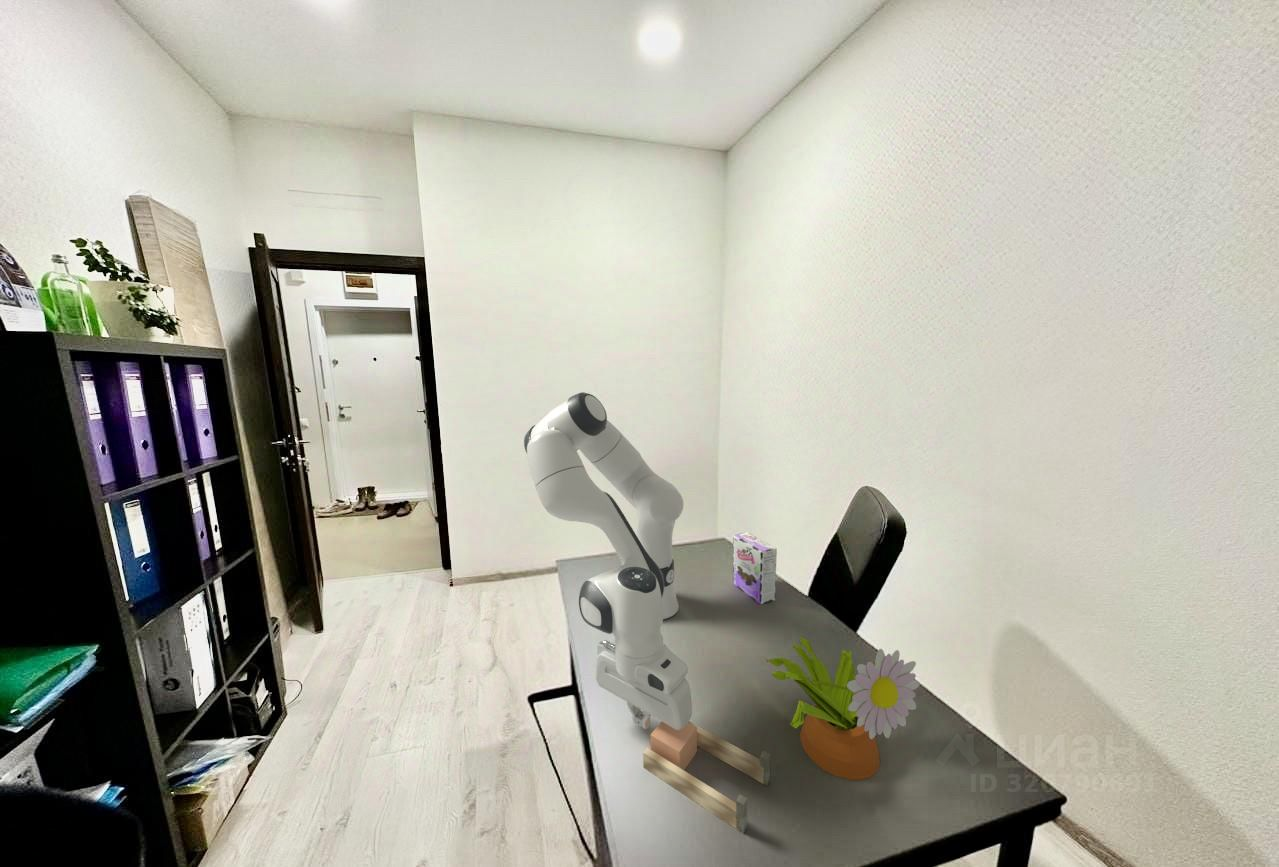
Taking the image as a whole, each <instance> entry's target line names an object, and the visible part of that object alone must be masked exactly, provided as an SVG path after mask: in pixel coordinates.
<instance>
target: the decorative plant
mask: <svg viewBox="0 0 1279 867" xmlns="http://www.w3.org/2000/svg"><path fill="white" fill-rule="evenodd" d="M798 638H799V642H800V645H802V646H803V647H804V648H805V650H806V651H807V652H808V653H807V652H806V651H805V650H804V648H802V646H800V645H798V644H794V643H793V644H792V643H791V644H790V645H791V646H792V647H793V649H794V651H795V652H796V653H797V654H798V655H799V657H800V658H801V659H802V661H803V662H804V664H805V666H806V669H807V671H808V673H809V675H810V678H811V679H810V678H809V677H808V675H807V674H806V673H805V672H804V671H803V670H802V669H801V667H800V666H799V664H797V663H796V662H793V661H791V660H789V659H787V658H785V657H775V658H771V659H767V658H765V661H766V662H769V663H770V664H772V665H773V666H775V667H777V668H778V667H780V666H781V665H783V666H784V667H785V668H786V669H787V670H788V671H786V672H784V671H782V670H774V671H772V674H771V676H772V677H773V678H774V679H776V680H779V681H780V680H781V681H786V680H788V679H792V680H794V682H796V683H797V684H798V685H799V686H800V687H801V688H802V689H803V691H804V692H805V693H806V694H807V696H808V697H809V699H810V700H812V702H813V703H814V704H815V705H812V704H810V703H807V702H805V701H802V700H800V699H799V700H798V702H797V703H798V704H797V707H796V711H795V712H794V714H793V716H792V717H793V718H792V719H791V722H790V723H789V726H792V727H793V728H794V729H797V728H799V727H800V726H801V730H800V735H799V738H800V742H801V743H800V744H801V746H802V747H803V750H804V752H805V753H806V754H807V756H808V757H809V758H810V759H811V761H812V762H813V763H814V764H816V765H817V767H819V768H820V769H822V770H824V771H825V772H827V773H829V774H831V775H833V776H835V777H837V778H841V779H844V780H845V779H846V780H850V781H856V780H857V781H861V780H865V779H868V778H870V777H872V776H873V775H875V773H877V771H878V770H879V767H880V762H881V761H880V759H881V758H880V753H879V749H878V748H879V747H878V743H877V742H878V741H877V739H876V735H877V734H878V735H880V736H881V735H882V734H883V735H884V737H885V738H886V739H889V738H890V737H891V733H892V728H893V729H894V730H897V729H898V725H899V726H900V727H901V726H902V727H906V725H907V718H906V717H908V716H909V715H910V712H909V710H910V711H911V710H912V711H914V710H916V709H917V704H916V702H915V701H914V698H915V697H916V693H915V692H914V690H916V689H918V688H919V687H920V685H921V684H920V682H919V681H918V680H916V679H915V678H916V677H917V675H916V673H913V670H914V669H915V667H916V665H917V662H916V661H913V660H912V661H911V660H910V661H909V662H906V663H905V660H904V659H900V655H901V654H900V651H899V649H897V650H895V651H894V652H893V653H892V654H891V653H888V654H886V655H885V651H884V650H883V648H879V649H878V650H877V653H876V654H875V655H876V656H875V661H872V662H871V661H868V662H867V663H866V664H863V663H859V664H857V667H856V671H857V672H858V673H857V674H856V671H855V667H854V663H853V662H854V661H853V658H852V652H851V650H844V649H841V651H840V652H841V655H840V656H841V657H840V660H839V663H838V667H837V671H836V674H835V679H834V682H833V681H832V678H831V677H830V675H829V672H828V670H827V667H826V665H825V664H824V663H823V662H821V660H819V658H818V657H817V656H816V654H815V653H814V650H813V647H812V646H811V643H810V640H808V639H806V638H803V637H798ZM808 654H809V655H810V656H811V657H810V656H809V655H808ZM804 714H806V716H805V718H804Z"/></svg>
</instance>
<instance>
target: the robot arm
mask: <svg viewBox="0 0 1279 867" xmlns="http://www.w3.org/2000/svg"><path fill="white" fill-rule="evenodd" d="M523 438H524V439H523V445H524V449H525V452H526V455H527V460H528V465H529V466H528V467H529V471H530V474H531V478H532V481H533V485H534V487H535V490H536V492H537V495H538V497H539V499H540V502H541V505H542V506H543V508H544V509H545V510H546V512H547V513H549V514H550V515H552V516H554V517H555V518H557V519H559V520H563V521H568V522H577V523H586V524H588V525H589V524H590V525H592V526H596V528H597V527H598V528H599V529H600V530H602V532H603V533H604V534H605V535H606V537H607V539H608V540H609V542H610V544H611V545H612V547H613V549H614V551H615V553H616V554H617V557H618V558H619V560H620V561H621V565H619V566H617V567H615V568H612V569H610V570H608V571H607V570H606V571H604V572H602V573H600V574H597V575H595V576H593V577H590V578H588V579H587V580H585V581H584V582H582V585H581V587H580V590H579V594H578V595H579V596H578V608H579V611H580V612H579V613H580V615H581V618H582V620H583V621H584V622H585V623H586V624H587V625H589V626H591V627H592V628H595V629H597V631H601V632H602V633H606V634H608V635H611V634H613V636H614V638H615V639H614V640H615V641H614V643H612V642H610V641H609V640H606V639H603V640H602V641H599V642H598V644H597V657H596V658H597V659H596V664H595V681H596V683H597V685H598V686H599V687H601V688H602V689H603V690H606V691H608V692H609V693H611V694H613V695H614V696H616V697H617V698H619V699H622V700H623V701H625V702H626V705H627V708H628V709H629V712H630V713H631V715H632V723H634V724H636V725H638V726H639V727H640V728H642V729H645V730H647V729H648V727H649V726H650V725H651V717H653V718H655V719H657V720H658V721H660V722H661V721H662V722H664V723H665V724H667V725H669V726H671V727H672V728H674V729H676V730H681V729H682V728H683V727H685V725H686V724H687V723H688V722H689V721H690V720H691V719H692V714H693V703H692V701H693V700H692V693H691V691H692V690H691V686H690V683H689V682H688V679H686V677H687V675H688V673H689V667H688V664H687V663H686V662H685V661H683V660H682V659H681V658H680V657H679V656H678V655H676V654H675V653H674V652H673V651H672V650H671V649H670V648H669V647H668V646H667V645H666V644H665V643H664V638H663V634H662V626H663V624H664V623H663V622H664V620H666V619H668V618H671V617H672V616H674V615H675V614H677V612H678V611H679V609H680V605H679V602H678V598H677V594H676V589H675V581H674V580H675V560H674V558H673V535H674V534H673V533H674V528H675V525H676V520H678V519H679V517H681V514H682V512H683V509H684V498H683V497H682V495H681V493H680V491H679V490H678V489H677V487H675V486H674V485H673V484H672V483H670V482H669V481H667V480H666V479H663V478H662V477H661V476H659V475H658V474H656V472H654V470H652V468H650V466H649V465H648V464H647V462H646V461H645V460H644V458H643V457H642V455H641V453H640V452H639V451H638V450H637V448H635V447H634V446H633V444H632V443H631V442H630V441H629V440H628V439H627V437H626V436H624V434H623V433H621V431H620V430H619V429H618V428H617V427H616V425H614V424H612V422H610V421H609V420H608V416H607V411H606V409H605V407H604V405H603V403H602V402H601V401H600V400H599V399H598V398H597V397H596V396H595V395H593V394H590V393H589V392H588V393H587V392H585V391H584V392H579V393H576V394H573V395H571V396H570V397H569V398H568V399H567V400H565V401H564V402H562V403H560V404H558V405H557V406H555V407H554V408H553V409H551V410H550V411H549V412H548V413H547V414H546V415H545V416H544V417H542V419H540V420H539V421H538V422H537V423H536V424H534V425H533V426H531V427H530V428H529V430H528V431H527V432H526V434H525V435H524V437H523ZM579 450H580V452H581V453H582V454H583V456H584V457H585V458H586V459H587V460H588V462H590V463H591V464H592V465H593V467H594V468H596V469H597V470H598V472H599V473H601V475H603V477H605V479H606V480H608V481H609V483H610V484H612V486H613V487H614V488H615V489H616V490H617V491H618V492H619V493H620V494H621V495H622V496H623V498H624V499H626V501H627V502H628V503H629V504H630V505H631V506H632V507H634V508H635V509H636V511H637V514H638V516H637V518H638V519H637V523H636V529H635V531H634V530H633V527H632V525H630V523H629V521H628V520H627V518H626V516H625V515H624V513H623V510H621V507H620V506H619V505H618V503H617V502H616V501H615V499H614V498H613V497H612V496H611V494H609V493H608V492H606V491H603V490H602V489H601V488H600V487H599V486H597V485H596V483H595V482H594V481H593V480H592V478H591V477H590V475H589V474H588V472H587V469H586V468H585V466H584V463H583V461H582V458H581V457H580V455H579V453H578V451H579Z"/></svg>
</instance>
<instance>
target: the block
mask: <svg viewBox="0 0 1279 867" xmlns="http://www.w3.org/2000/svg"><path fill="white" fill-rule="evenodd" d="M649 736H650V737H649V738H650V739H649V740H650V750H652V751H653V752H655V753H657V754H658V755H660V756H661V757H663V758H665V759H666V760H668V761H669V762H671V763H673V764H674V765H676V766H677V767H679V768H681V769H682V770H684V771H685V770H686V769H687V767H688V766H689V764H690V763H691V761H692V760H693V758H694V757H695V755H696V754H697V752H698V746H697V728H696V727H695V726H693V725H691V724H689V723H687V724H686V725H685V727H683V728H682V729H681V730H676V729H674V728H672V727H671V726H669V725H667V724H665V723H664V722H662V721H660V723H659V724H658V725H657V726H656V728H655V729H654V730H653V731H652V732H651V734H650V735H649Z"/></svg>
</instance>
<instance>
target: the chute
mask: <svg viewBox="0 0 1279 867" xmlns="http://www.w3.org/2000/svg"><path fill="white" fill-rule="evenodd" d="M688 723H689V724H691V725H693V726H695V727H696V728H697V748H699V749H701V750H703V751H705V752H706V753H708V754H710V755H712V756H713V757H716V758H717V759H719V760H721V761H722V762H724V763H726V764H728V765H730V766H731V767H733V768H735V769H736V770H738V771H740V772H741V773H743V774H746V775H747V776H749V777H750V778H753V779H754V780H756V781H757V782H759V783H761V784H762V785H763V786H768V784H769V782H770V780H771V778H770V776H771V773H770V771H771V754H770V753H769V752H766V751H765V750H762V751H761V754H760V756H759V758H758V757H756V756H754V755H752V754H750V753H749V752H746V751H745V750H743V749H742V748H740V747H738V746H735V745H734V744H731V743H730V742H728V741H726V740H725V739H722V738H721V737H720V736H718V735H715V734H713V733H712V732H710V731H708V730H706V729H704V728H703V727H701V726H698V725H696V723H694V722H692V721H690V720H689V722H688ZM642 757H643V760H642V762H643V764H642V765H643V769H645V770H647V771H648V772H649V773H651V774H653V775H654V776H655V777H657V778H659V779H660V780H661V781H663V782H664V783H666V784H667V785H669V786H671V787H672V788H673V789H675V790H677V791H678V792H680V793H681V794H683V795H685V797H687V798H689V799H690V800H692V801H693V802H695V803H696V804H698V805H700V806H701V807H703V808H704V809H705V810H707V811H709V812H710V813H712V814H713V815H714V816H716V817H717V818H719V819H720V820H722V821H724V822H725V823H727V825H728V824H729V825H730V826H732V827H733V828H734V829H736V830H737V831H739V832H740V833H742V834H745V832H746V830H747V826H748V798H747V797H745V796H744V795H742V794H740V793H739V794H738V797H737V798H736V800H735V801H734V800H732V799H730V798H729V797H727V796H726V795H724V794H722V793H721V792H719V791H717V790H716V789H714V788H713V787H711V786H709V785H708V784H707V783H705V782H704V781H701V780H700V779H698V778H697V777H695V776H694V775H692V774H691V773H689V772H687V771H685V770H682V769H681V768H679V767H677V766H676V765H674V764H673V763H671V762H669V761H668V760H666V759H665V758H663V757H661V756H660V755H658V754H657V753H655V752H653V751H652V750H651V748H649V747H646V749H644V751H643V753H642Z"/></svg>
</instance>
